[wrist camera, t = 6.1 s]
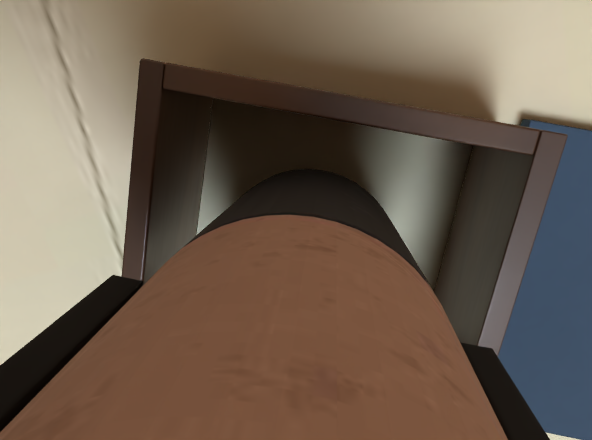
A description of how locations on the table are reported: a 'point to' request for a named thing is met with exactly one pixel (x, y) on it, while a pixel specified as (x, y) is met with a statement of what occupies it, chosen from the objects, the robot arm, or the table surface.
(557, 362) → the mat
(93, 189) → the table surface
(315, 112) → the cube shelf
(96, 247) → the table surface
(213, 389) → the travel mug
